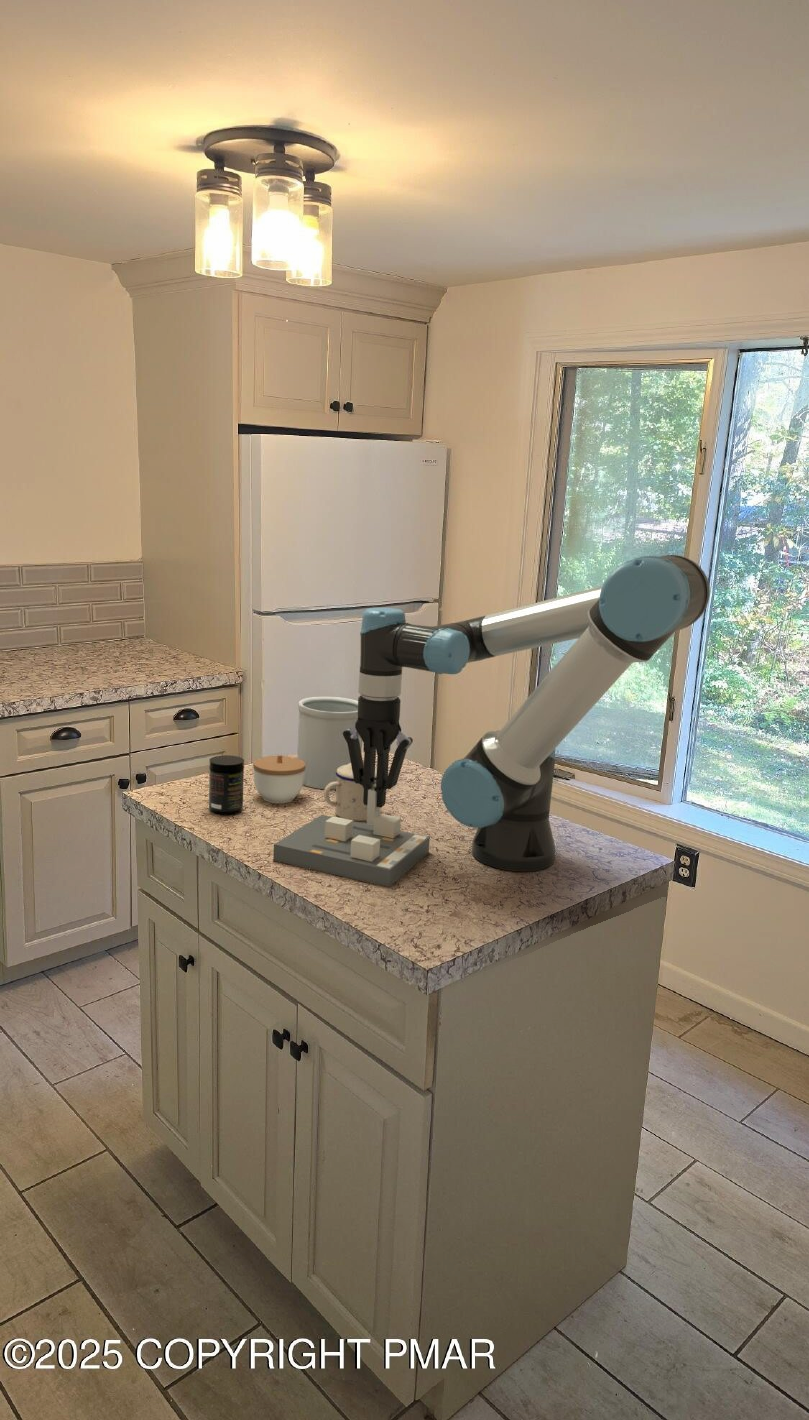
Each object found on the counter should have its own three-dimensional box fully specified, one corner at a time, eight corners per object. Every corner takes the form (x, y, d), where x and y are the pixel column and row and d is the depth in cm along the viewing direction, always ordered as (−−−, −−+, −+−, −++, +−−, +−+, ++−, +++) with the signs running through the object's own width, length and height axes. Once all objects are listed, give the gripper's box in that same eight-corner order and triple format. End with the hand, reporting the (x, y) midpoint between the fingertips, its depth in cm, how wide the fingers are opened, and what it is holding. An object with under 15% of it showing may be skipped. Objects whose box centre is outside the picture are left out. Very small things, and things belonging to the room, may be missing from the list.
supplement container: (249, 808, 195) (250, 758, 192) (232, 818, 189) (233, 767, 186) (219, 803, 197) (220, 753, 195) (201, 812, 191) (202, 761, 189)
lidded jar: (242, 795, 202) (243, 752, 200) (286, 787, 209) (287, 745, 207) (270, 810, 195) (271, 765, 192) (314, 802, 201) (316, 758, 199)
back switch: (400, 833, 177) (401, 817, 177) (393, 838, 175) (394, 822, 174) (380, 829, 179) (380, 813, 178) (373, 834, 176) (374, 818, 176)
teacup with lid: (365, 804, 202) (368, 750, 199) (387, 818, 194) (391, 762, 192) (313, 811, 195) (315, 755, 193) (334, 826, 188) (336, 768, 185)
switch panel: (428, 852, 178) (429, 836, 177) (389, 887, 161) (390, 869, 161) (321, 829, 186) (322, 814, 185) (273, 860, 169) (273, 843, 169)
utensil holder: (371, 776, 221) (375, 701, 217) (348, 795, 207) (352, 714, 203) (311, 767, 225) (314, 693, 221) (284, 784, 211) (287, 706, 207)
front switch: (379, 856, 166) (380, 839, 166) (371, 861, 163) (372, 844, 163) (358, 851, 168) (358, 834, 167) (350, 857, 165) (351, 840, 164)
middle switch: (352, 836, 175) (353, 820, 174) (344, 841, 172) (345, 825, 171) (332, 832, 176) (333, 816, 175) (324, 837, 173) (325, 821, 173)
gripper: (421, 697, 173) (414, 823, 178) (355, 687, 178) (350, 810, 183) (405, 704, 166) (398, 835, 172) (336, 694, 171) (332, 822, 176)
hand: (373, 822), depth 177 cm, fingers closed
